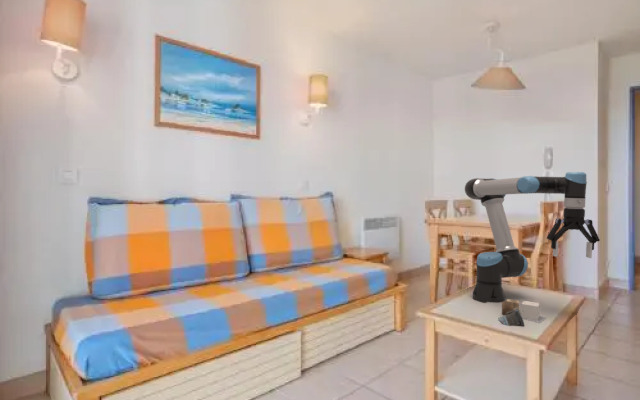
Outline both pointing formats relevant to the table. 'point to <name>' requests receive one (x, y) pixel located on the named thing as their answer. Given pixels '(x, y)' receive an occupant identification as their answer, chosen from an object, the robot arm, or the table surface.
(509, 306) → the walnut cylinder
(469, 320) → the table surface
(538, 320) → the mat
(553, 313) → the table surface
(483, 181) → the robot arm
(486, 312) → the table surface
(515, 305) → the beech cube
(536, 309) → the plain block
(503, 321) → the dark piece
